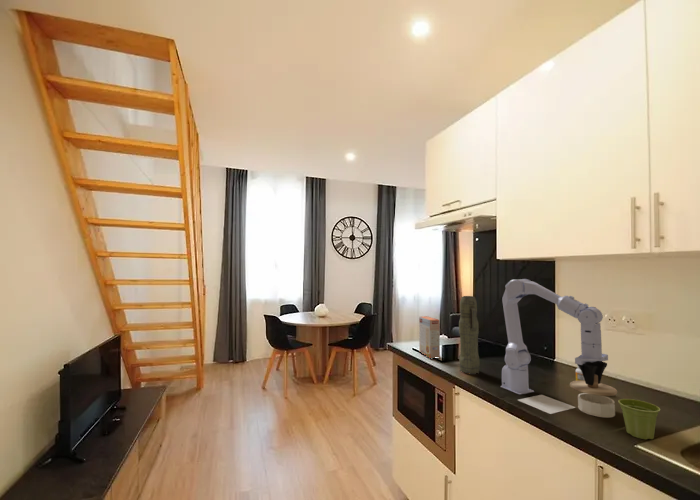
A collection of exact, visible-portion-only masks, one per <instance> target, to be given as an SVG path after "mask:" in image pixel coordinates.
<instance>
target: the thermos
mask: <svg viewBox="0 0 700 500" xmlns="http://www.w3.org/2000/svg"><path fill="white" fill-rule="evenodd" d="M459 313H460V315H459V319H458V320H459V321H458V334H459V338H460V339H459V343H460V344H459V345H460V346H459V349H460V350H459V351H460V352H459V357H458V358H459V360H458V361H459V363H458V365H459V372H460V371H462V372H465V373H470V374H469V375H477V374H476V373H478V374H479V373H480V356H479V341H478V339H479V338H478V337H479V334H480V333H479V331H480V330H479V329H480V328H479V327H480V326H479V320H478V316H477V315H478V304H477V299H476V297H475V296H473V295H463V296H461V299H460V300H459ZM462 372H461V373H462ZM465 373H464V374H465Z"/></svg>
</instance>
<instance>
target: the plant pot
mask: <svg viewBox="0 0 700 500" xmlns="http://www.w3.org/2000/svg"><path fill="white" fill-rule="evenodd" d="M617 402H618V404H619V407H620V409H621V412H622V416H623V421H624V426H625V430H626V431H625V432H626V433H627V434H629V435H631V436H632V437H635V438H637V439H641V440H648V439H649V440H653V439H655V433H656V432H655V429H656V423H657V418H658V415H659V413H660V412H661V408H660V407H659V406H657V405H655V404H653V403H651V402H647V401H644V400H640V399H632V398H621V399H618V400H617Z"/></svg>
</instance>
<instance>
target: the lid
mask: <svg viewBox="0 0 700 500" xmlns="http://www.w3.org/2000/svg"><path fill="white" fill-rule="evenodd" d="M569 386H570V388H571V389H573V390H574V391H578V392H581V393H587V394H592V395H598V396H605V397H614V396H617V395H618V390H617V389H616V388H615V387H614V386H610V385H608V384H605V383H602V382H600V384H598V375H596V374H594V384H593V385H589V384H586V383H585V381H576V380H573V381H570V382H569Z"/></svg>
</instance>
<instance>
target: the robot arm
mask: <svg viewBox="0 0 700 500" xmlns="http://www.w3.org/2000/svg"><path fill="white" fill-rule="evenodd" d="M504 287H505V290H504V292H503V295H502V299H501V301H502V306H503V315H504V321H505V322H504V323H505V328H506V335H507V342H508V343H507V345H506V347H505V355H504V362H505V365H504V366H503V367H502V368H501V385H500V388H502V389H505V390H508V391H509V392H513V393H515V394H517V395H526V394H530V393H535V391H534V390H533V389H531V388H530V387H529V364H530V363H531V360H532V358H531V354H530V353H529V350H528V346H527V344H525V343H524V339H523V332H522V327H521V319H520V312H519V305H518V303H519V302H520V301H521V300H522V298H524V297H526V296H528V295H535V296H538V297H540V298H542V299H545V300H546V301H548V302H551V303H554V304H555V305H556V308H557V309H558V310H560V311H562V312H563V313H565V314H566V315H568V316H571V317H573V318H575V319H577V320H578V322H579V323H580V347H581V348H580V350H581V354H580V355H579V356H577V357H574V364H576V365H578V366H579V368H580V369H581V371H582V374H583V376H584V380H585V383H586V384H589V385H593V384H594V374H596V375H598V384H600V383H601V381H602V376H603V373H604V371H605V370H606V368H607V367H608V362H606V361H609V355H608V354H607V353H603V349H602V329H601V322H602V321H603V318H604V315H603V313H602V311H601V310H600V309H598V308H597V307H596V306H589V304H588V303H583V302H581V301H579V300H577V299H575V297H574V296H573V295H564V296H561V295H559V294H557V293H556V292H554V291H552V290H550V289H548V288H546V287H544V286H543V285H540V284H539V283H537V282H536V281H533V280H532V281H531V280H530V279H527V278H522V279H521V278H520V279H516V278H515V279H511V280H509V281H508V282H507V283H506V284H505V286H504ZM578 366H577V367H578Z"/></svg>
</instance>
